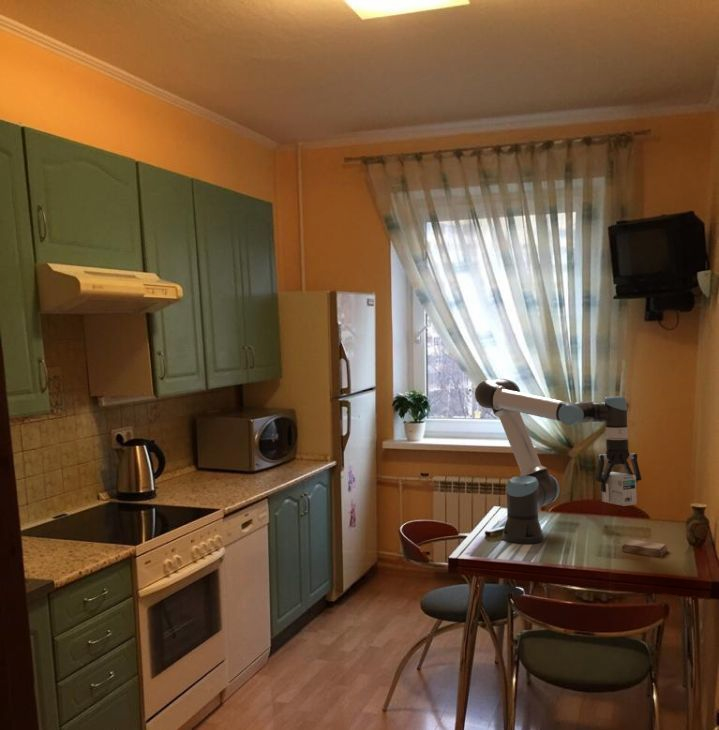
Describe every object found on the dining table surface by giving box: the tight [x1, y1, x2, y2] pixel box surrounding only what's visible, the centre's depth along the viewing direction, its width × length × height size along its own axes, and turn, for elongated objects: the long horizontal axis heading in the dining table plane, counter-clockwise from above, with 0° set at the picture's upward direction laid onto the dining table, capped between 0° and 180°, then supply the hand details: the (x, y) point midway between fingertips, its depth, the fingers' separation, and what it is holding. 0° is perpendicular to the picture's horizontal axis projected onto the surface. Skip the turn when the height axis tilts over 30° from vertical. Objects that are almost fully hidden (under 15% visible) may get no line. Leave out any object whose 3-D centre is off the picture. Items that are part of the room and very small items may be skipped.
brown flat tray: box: [621, 538, 668, 558], centre depth 237 cm, size 13×9×2 cm
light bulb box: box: [601, 471, 638, 507], centre depth 242 cm, size 11×7×11 cm, turn 26°
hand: (619, 500), depth 242 cm, fingers closed on light bulb box, 9 cm apart
